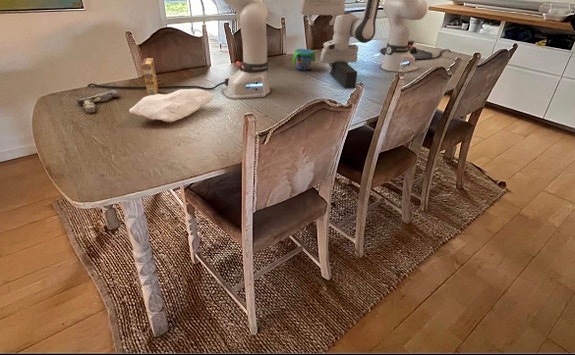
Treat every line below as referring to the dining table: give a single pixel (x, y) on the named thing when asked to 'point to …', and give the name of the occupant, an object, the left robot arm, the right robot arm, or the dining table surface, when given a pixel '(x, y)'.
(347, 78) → the bar
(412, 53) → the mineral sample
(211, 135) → the dining table surface
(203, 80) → the dining table surface
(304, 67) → the snack cup
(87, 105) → the handgun
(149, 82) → the candy box
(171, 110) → the crumpled cloth
